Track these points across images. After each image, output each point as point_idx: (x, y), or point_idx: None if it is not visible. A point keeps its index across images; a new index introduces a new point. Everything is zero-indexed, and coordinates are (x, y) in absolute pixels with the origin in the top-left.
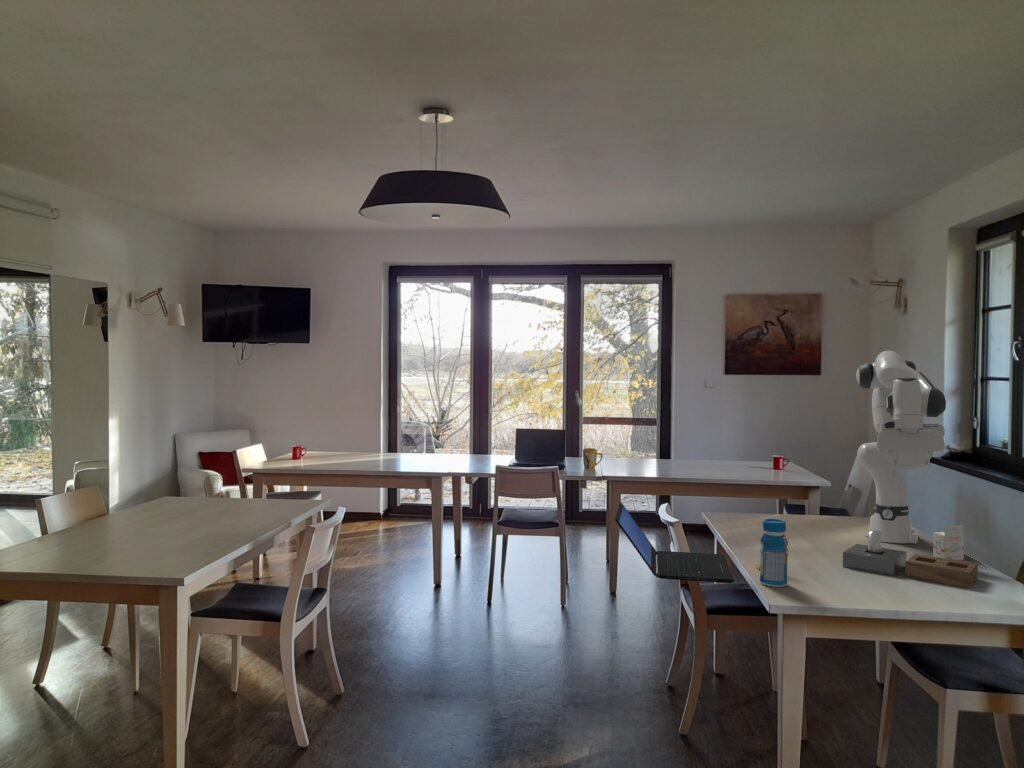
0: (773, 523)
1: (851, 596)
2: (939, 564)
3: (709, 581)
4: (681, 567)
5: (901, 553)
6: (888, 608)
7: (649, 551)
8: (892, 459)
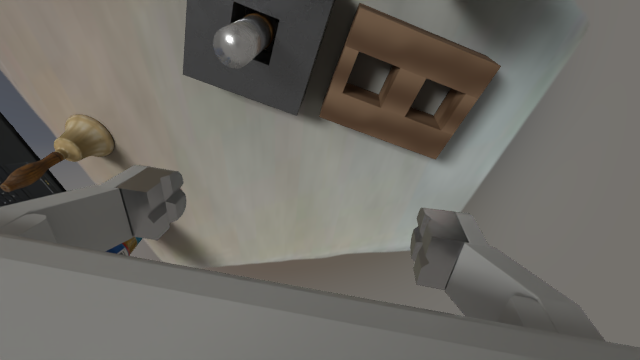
0: None
1: (241, 230)
2: (391, 114)
3: None
4: (2, 196)
5: (320, 24)
6: (285, 257)
7: None
8: (110, 224)
